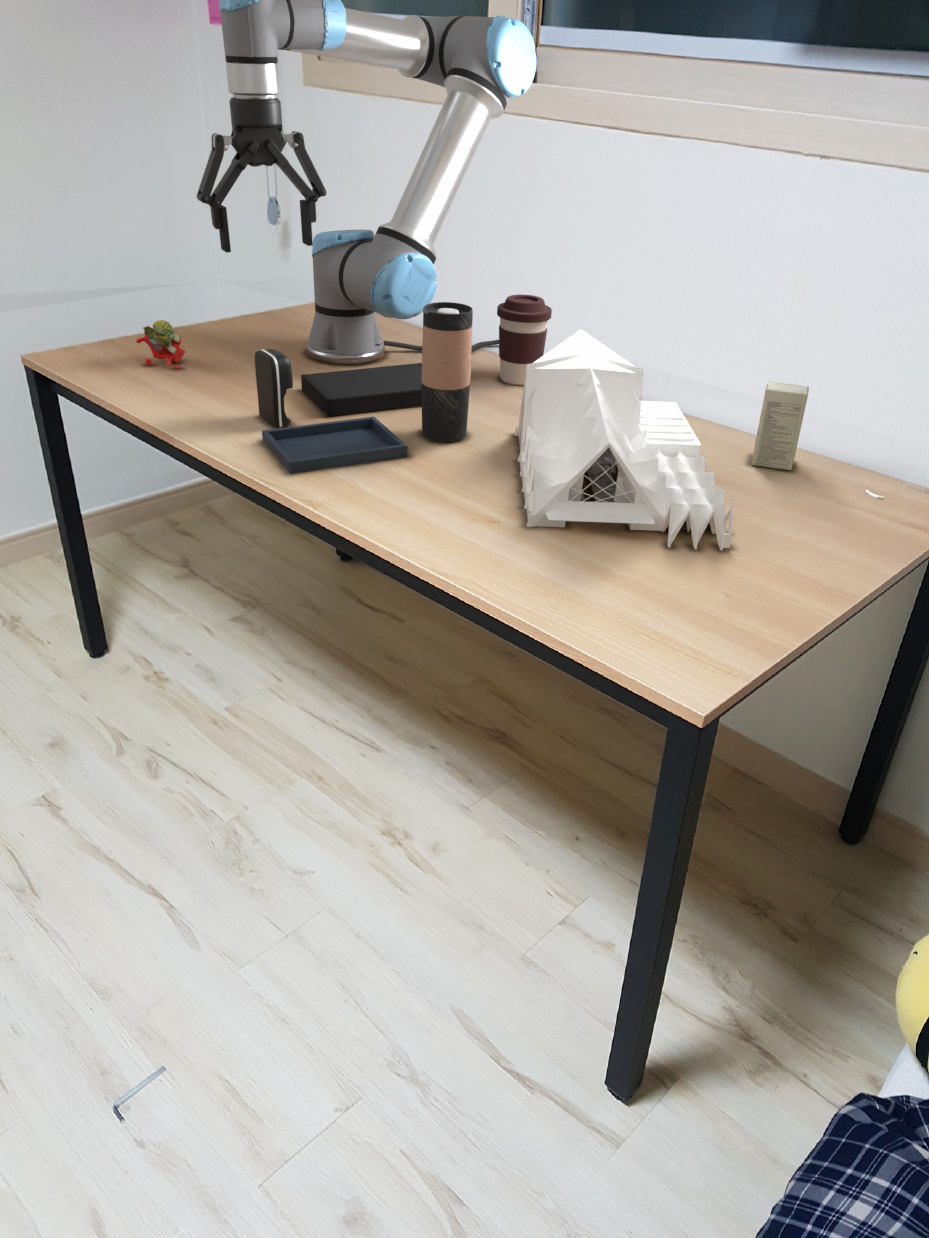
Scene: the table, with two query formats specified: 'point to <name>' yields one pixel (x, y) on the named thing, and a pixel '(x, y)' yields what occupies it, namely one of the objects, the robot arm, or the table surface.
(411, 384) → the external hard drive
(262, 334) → the table surface
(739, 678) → the table surface
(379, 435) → the tray
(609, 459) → the white faceted model
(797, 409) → the cosmetic box
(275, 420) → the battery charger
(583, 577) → the table surface
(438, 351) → the travel mug
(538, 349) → the coffee cup
